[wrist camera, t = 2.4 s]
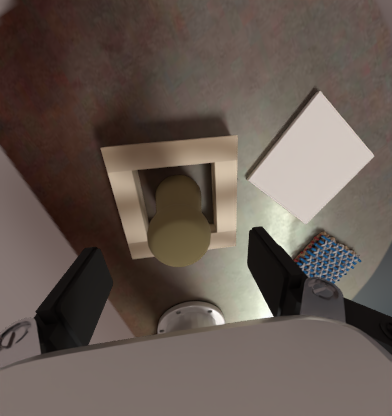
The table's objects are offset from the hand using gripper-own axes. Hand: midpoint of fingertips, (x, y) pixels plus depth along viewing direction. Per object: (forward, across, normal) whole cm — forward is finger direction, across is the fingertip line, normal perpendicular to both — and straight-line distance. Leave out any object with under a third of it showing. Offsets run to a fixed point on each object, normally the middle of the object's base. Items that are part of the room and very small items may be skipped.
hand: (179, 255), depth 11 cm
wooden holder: (+12, 0, +1) cm, 13 cm away
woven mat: (+13, -23, +16) cm, 31 cm away
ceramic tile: (+13, -18, -1) cm, 22 cm away
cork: (+13, 0, +1) cm, 13 cm away
